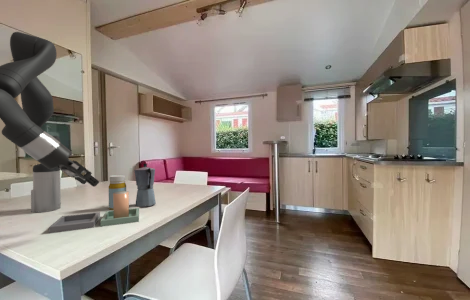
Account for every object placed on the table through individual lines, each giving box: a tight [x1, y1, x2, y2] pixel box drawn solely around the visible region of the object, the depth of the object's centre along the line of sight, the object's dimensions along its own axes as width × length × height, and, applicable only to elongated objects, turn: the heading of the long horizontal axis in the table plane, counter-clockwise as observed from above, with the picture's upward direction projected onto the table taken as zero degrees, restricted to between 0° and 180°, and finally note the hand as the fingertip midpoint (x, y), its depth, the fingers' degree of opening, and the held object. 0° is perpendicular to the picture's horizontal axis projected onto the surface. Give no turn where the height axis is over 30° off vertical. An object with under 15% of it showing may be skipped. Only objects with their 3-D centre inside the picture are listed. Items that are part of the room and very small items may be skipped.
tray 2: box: [100, 207, 140, 227], centre depth 81 cm, size 12×12×2 cm
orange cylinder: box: [112, 190, 130, 218], centre depth 81 cm, size 5×5×10 cm
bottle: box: [108, 174, 127, 211], centre depth 97 cm, size 7×7×15 cm
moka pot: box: [133, 163, 156, 208], centre depth 102 cm, size 10×15×20 cm, turn 43°
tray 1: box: [48, 211, 101, 234], centre depth 76 cm, size 12×12×2 cm
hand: (91, 183), depth 73 cm, fingers open, 8 cm apart
